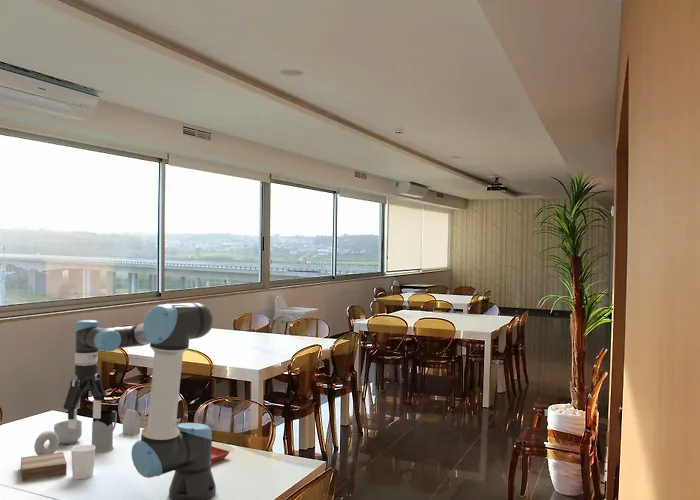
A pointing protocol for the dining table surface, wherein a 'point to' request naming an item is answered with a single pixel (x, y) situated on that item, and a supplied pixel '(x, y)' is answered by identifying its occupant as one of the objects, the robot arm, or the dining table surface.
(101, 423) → the gray pitcher
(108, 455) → the dining table surface
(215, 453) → the plant saucer
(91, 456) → the white cup
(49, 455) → the walnut base
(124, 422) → the tea bag
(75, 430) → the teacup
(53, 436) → the donut
